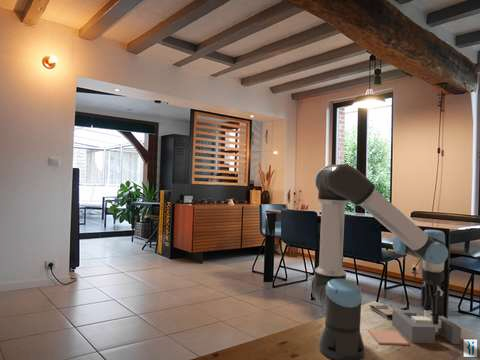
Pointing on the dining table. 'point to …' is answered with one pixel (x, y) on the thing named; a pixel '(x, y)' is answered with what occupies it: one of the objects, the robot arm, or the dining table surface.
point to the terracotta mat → (388, 337)
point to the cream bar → (424, 320)
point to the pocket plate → (424, 328)
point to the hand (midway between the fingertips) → (430, 329)
